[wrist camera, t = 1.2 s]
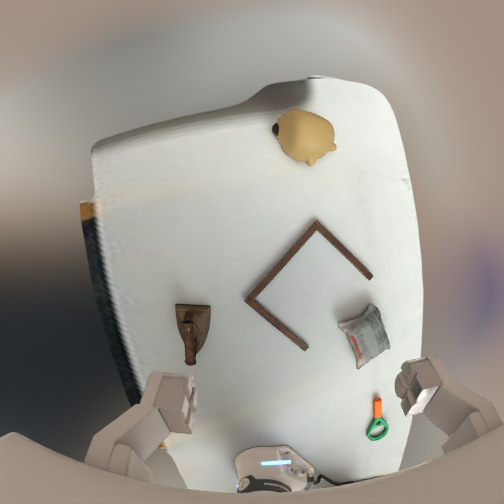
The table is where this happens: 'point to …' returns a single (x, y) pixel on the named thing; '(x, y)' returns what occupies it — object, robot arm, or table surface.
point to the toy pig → (304, 135)
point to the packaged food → (366, 335)
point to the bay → (283, 262)
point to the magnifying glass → (377, 418)
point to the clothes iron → (192, 328)
